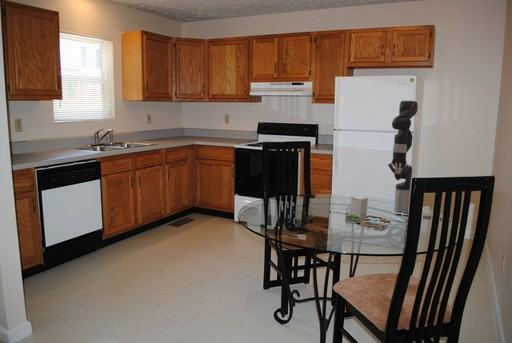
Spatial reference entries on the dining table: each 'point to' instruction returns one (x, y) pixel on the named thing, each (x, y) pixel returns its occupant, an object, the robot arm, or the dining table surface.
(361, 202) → the skincare box
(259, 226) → the dining table surface
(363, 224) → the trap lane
